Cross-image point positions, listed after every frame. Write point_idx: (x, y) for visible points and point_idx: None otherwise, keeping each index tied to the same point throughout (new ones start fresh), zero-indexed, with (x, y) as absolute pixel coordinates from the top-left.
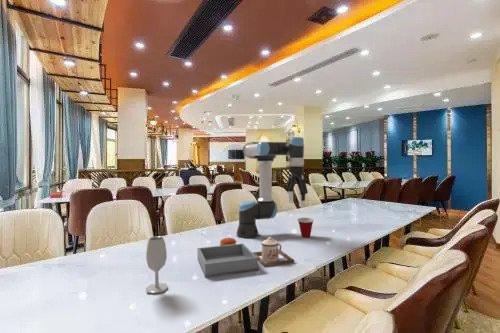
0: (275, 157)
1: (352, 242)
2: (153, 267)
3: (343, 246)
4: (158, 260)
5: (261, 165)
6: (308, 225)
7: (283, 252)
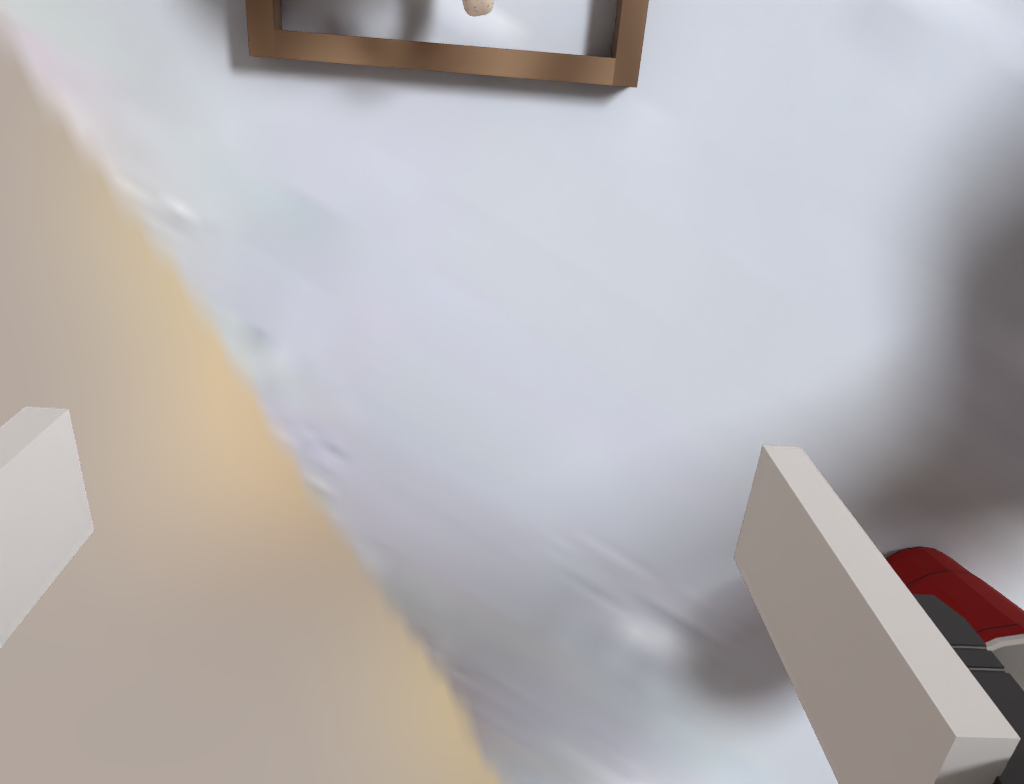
0: None
1: (562, 775)
2: None
3: (507, 676)
4: None
5: None
6: None
7: (516, 72)
